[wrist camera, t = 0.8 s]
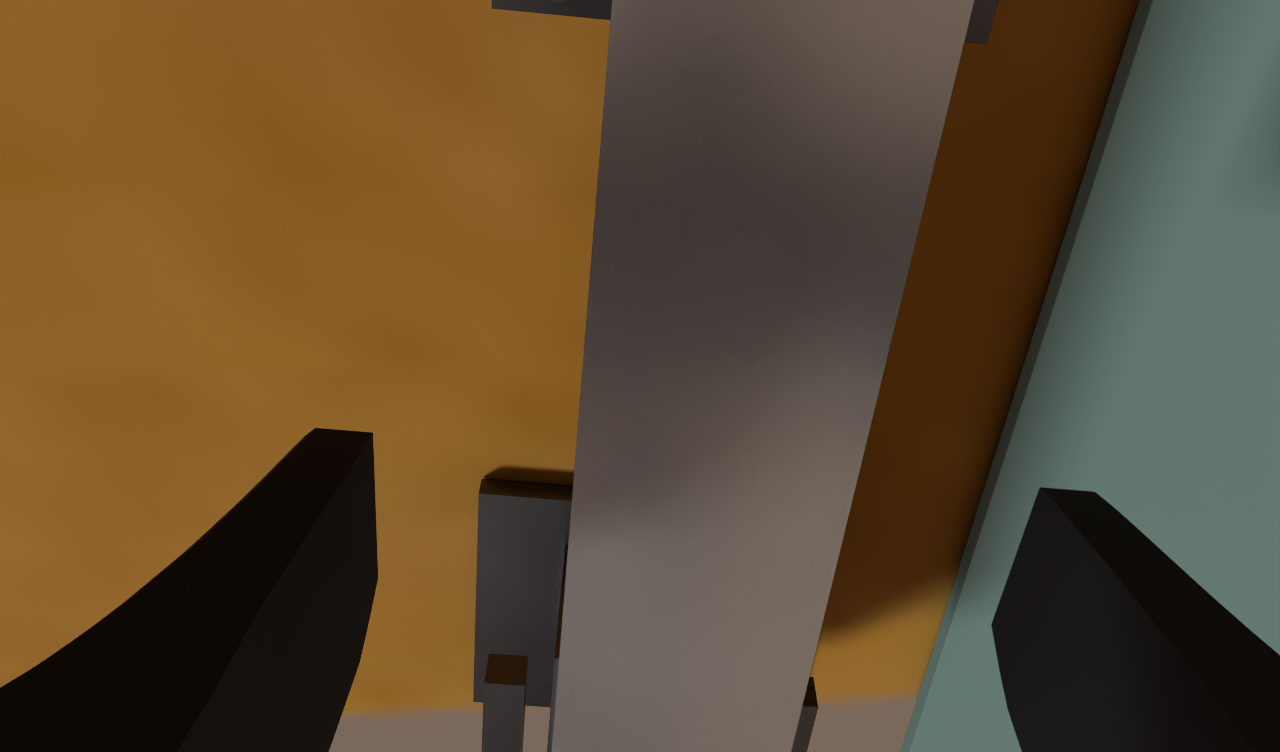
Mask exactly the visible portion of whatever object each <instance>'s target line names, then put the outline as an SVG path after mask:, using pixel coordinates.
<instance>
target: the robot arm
mask: <svg viewBox="0 0 1280 752" xmlns="http://www.w3.org/2000/svg"><path fill="white" fill-rule="evenodd" d="M377 580H378V564H377V536H376V507H375V479H374V451H373V433H370V432H358V431H346V430H333V429H321V428H315V429H313V430H312V431H311V432H310V433H308V434H307V435H306V436H305V437H304V438H303V439H302V440H301V441H300V442H299V443H298V444H297V445H296V446H295V447H294V448H293V449H292V450H291V451H290V452H289V453H288V454H287V455H286V456H285V457H284V458H283V459H282V460H281V461H280V462H279V463H278V464H277V465H276V466H275V467H274V468H273V469H272V470H271V471H270V472H269V473H268V474H267V475H266V476H265V477H264V478H263V479H262V480H261V481H260V482H259V483H258V484H257V485H256V486H255V487H254V488H253V489H252V490H251V491H250V492H249V493H248V494H247V495H246V496H245V497H244V498H243V499H242V500H241V501H239V502H238V503H237V504H236V505H235V506H234V507H233V508H232V509H231V510H230V511H229V512H228V513H227V514H226V515H225V516H223V517H222V518H221V519H220V520H219V521H218V522H217V523H216V524H215V525H214V526H213V527H212V528H210V529H209V530H208V531H207V532H206V533H205V534H204V535H203V536H202V537H201V538H200V539H199V540H197V541H196V542H195V543H194V544H193V545H192V546H191V547H190V548H189V549H187V550H186V551H185V552H184V553H183V554H182V555H181V556H179V557H178V558H177V559H176V560H175V561H173V562H172V563H171V564H170V565H169V566H167V567H166V568H165V569H164V570H163V571H161V572H160V573H159V574H158V575H157V576H155V577H154V578H153V579H152V580H151V581H149V582H148V583H147V584H146V585H145V586H143V587H142V588H141V589H140V590H139V591H137V592H136V593H135V594H134V595H132V596H131V597H130V598H129V599H128V600H126V601H125V602H124V603H123V604H121V605H120V606H119V607H117V608H116V609H115V610H114V611H112V612H111V613H110V614H108V615H107V616H106V617H104V618H103V619H102V620H100V621H99V622H98V623H96V624H95V625H94V626H92V627H91V628H90V629H88V630H87V631H86V632H84V633H83V634H81V635H80V636H79V637H77V638H76V639H74V640H73V641H72V642H70V643H69V644H67V645H66V646H64V647H63V648H62V649H60V650H59V651H57V652H56V653H54V654H53V655H51V656H50V657H49V658H47V659H46V660H44V661H43V662H41V663H40V664H38V665H37V666H35V667H33V668H32V669H30V670H29V671H27V672H26V673H24V674H22V675H21V676H19V677H17V678H16V679H14V680H12V681H11V682H9V683H7V684H6V685H4V686H2V687H1V688H0V752H328V751H329V749H330V746H331V743H332V740H333V738H334V735H335V732H336V729H337V726H338V723H339V721H340V718H341V715H342V712H343V709H344V706H345V703H346V700H347V698H348V695H349V692H350V689H351V686H352V683H353V680H354V677H355V674H356V671H357V668H358V665H359V663H360V659H361V654H362V650H363V645H364V641H365V636H366V632H367V628H368V623H369V618H370V614H371V609H372V604H373V599H374V595H375V590H376V585H377ZM991 626H992V632H993V638H994V643H995V649H996V654H997V660H998V665H999V671H1000V676H1001V680H1002V685H1003V690H1004V694H1005V699H1006V704H1007V709H1008V712H1009V715H1010V718H1011V721H1012V724H1013V727H1014V730H1015V733H1016V736H1017V739H1018V742H1019V745H1020V748H1021V751H1022V752H1280V655H1279V654H1278V653H1277V652H1276V651H1274V650H1273V649H1272V648H1271V647H1270V646H1268V645H1267V644H1266V643H1265V642H1264V641H1263V640H1261V639H1260V638H1259V637H1258V636H1257V635H1256V634H1254V633H1253V632H1252V631H1251V630H1250V629H1249V628H1247V627H1246V626H1245V625H1244V624H1243V623H1242V622H1240V621H1239V620H1238V619H1237V618H1236V617H1235V616H1234V615H1232V614H1231V613H1230V612H1229V611H1228V610H1227V609H1226V608H1225V607H1224V606H1222V605H1221V604H1220V603H1219V602H1218V601H1217V600H1216V599H1215V598H1213V597H1212V596H1211V595H1210V594H1209V593H1208V592H1207V591H1206V590H1205V589H1203V588H1202V587H1201V586H1200V585H1199V584H1198V583H1197V582H1196V581H1195V580H1194V579H1192V578H1191V577H1190V576H1189V575H1188V574H1187V573H1186V572H1185V571H1184V570H1183V569H1181V568H1180V567H1179V566H1178V565H1177V564H1176V563H1175V562H1174V561H1173V560H1172V559H1171V558H1169V557H1168V556H1167V555H1166V554H1165V553H1164V552H1163V551H1162V550H1161V549H1160V548H1159V547H1157V546H1156V545H1155V544H1154V543H1153V542H1152V541H1151V540H1150V539H1149V538H1148V537H1147V536H1145V535H1144V534H1143V533H1142V532H1141V531H1140V530H1139V529H1138V528H1137V527H1136V526H1134V525H1133V524H1132V523H1131V522H1130V521H1129V520H1128V519H1127V518H1126V517H1124V516H1123V515H1122V514H1121V513H1120V512H1119V511H1118V510H1116V509H1115V508H1114V507H1113V506H1112V505H1111V504H1109V503H1108V502H1107V501H1106V500H1105V499H1103V498H1102V497H1101V496H1100V495H1098V494H1097V493H1096V492H1093V491H1080V490H1068V489H1056V488H1044V487H1040V488H1039V491H1038V493H1037V496H1036V499H1035V502H1034V505H1033V508H1032V510H1031V513H1030V516H1029V519H1028V522H1027V525H1026V527H1025V530H1024V533H1023V536H1022V539H1021V542H1020V544H1019V547H1018V550H1017V553H1016V556H1015V559H1014V561H1013V564H1012V567H1011V570H1010V573H1009V576H1008V578H1007V581H1006V584H1005V587H1004V590H1003V593H1002V595H1001V598H1000V601H999V604H998V607H997V610H996V612H995V615H994V618H993V621H992V624H991Z"/></svg>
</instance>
